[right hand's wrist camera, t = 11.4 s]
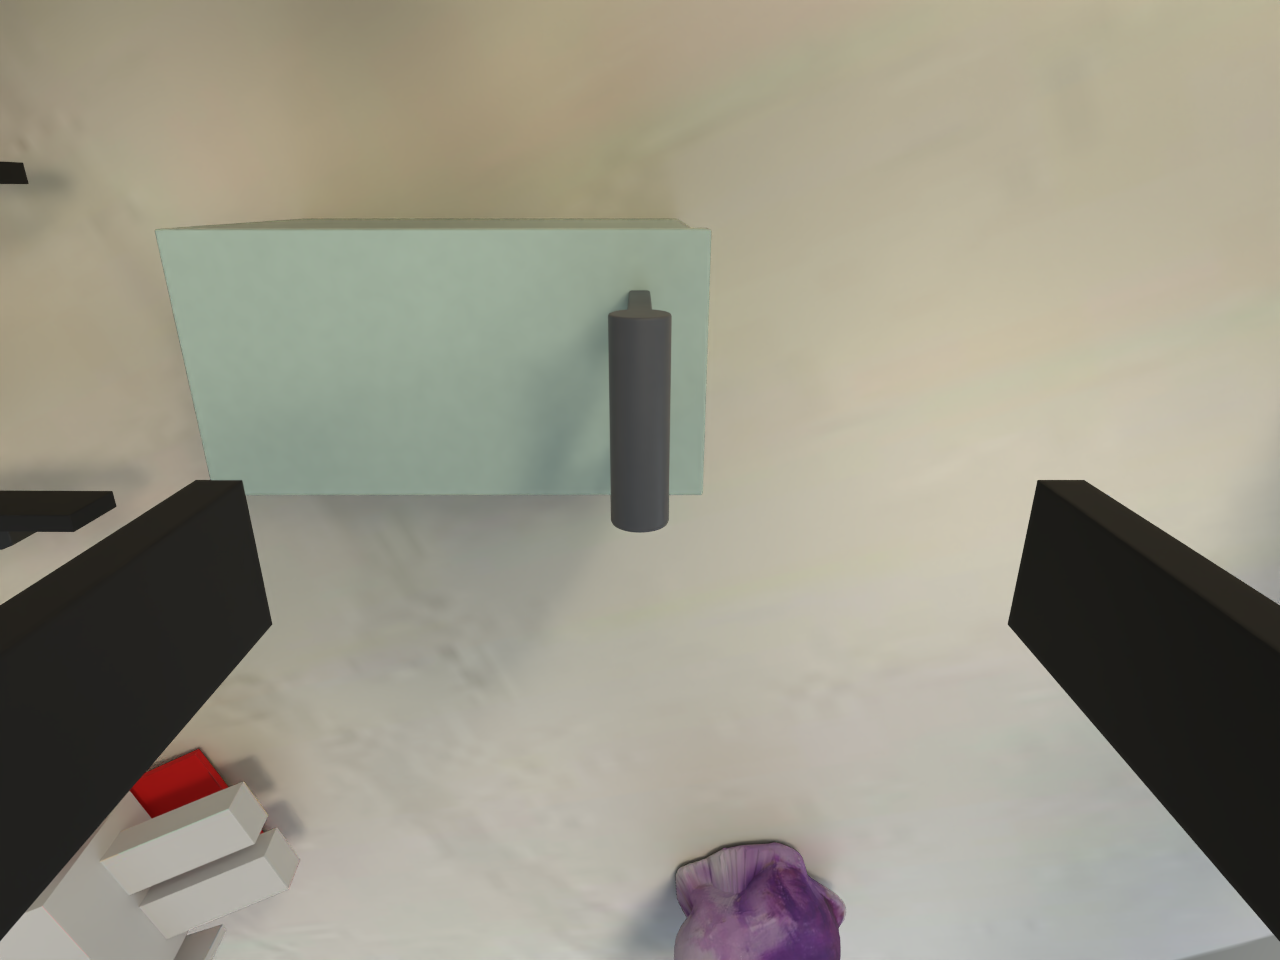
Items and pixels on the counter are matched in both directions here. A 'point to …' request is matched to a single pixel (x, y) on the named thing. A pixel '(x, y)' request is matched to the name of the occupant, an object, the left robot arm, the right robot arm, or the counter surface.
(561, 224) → the chest
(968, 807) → the counter surface
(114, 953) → the toy
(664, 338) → the lid
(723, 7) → the counter surface
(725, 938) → the figurine
